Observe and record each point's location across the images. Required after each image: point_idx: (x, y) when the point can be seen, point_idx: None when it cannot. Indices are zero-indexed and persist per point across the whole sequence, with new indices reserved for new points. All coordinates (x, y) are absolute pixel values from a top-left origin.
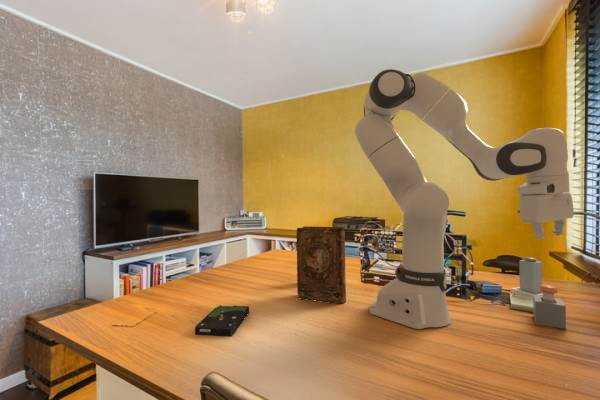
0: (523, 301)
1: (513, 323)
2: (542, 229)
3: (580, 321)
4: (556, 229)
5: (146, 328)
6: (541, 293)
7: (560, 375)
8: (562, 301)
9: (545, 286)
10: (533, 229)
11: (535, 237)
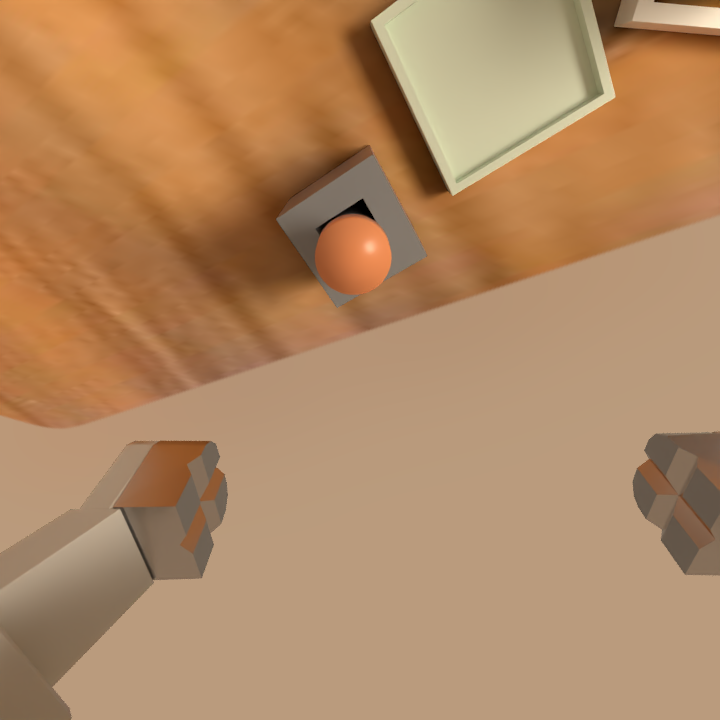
0: (504, 13)
1: (201, 156)
2: (81, 636)
3: (466, 263)
4: (707, 534)
5: None
6: (709, 9)
7: (49, 384)
8: (389, 276)
9: (343, 250)
10: (8, 555)
11: (129, 449)
